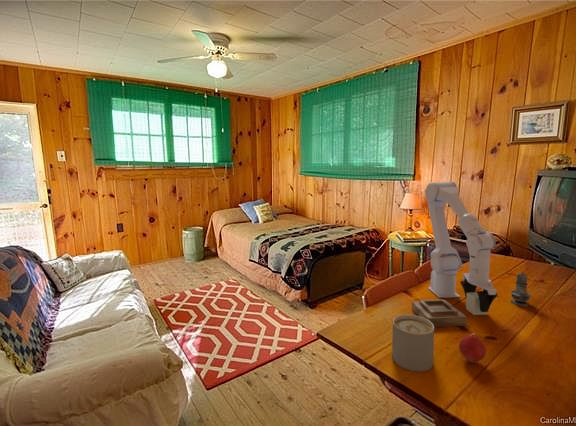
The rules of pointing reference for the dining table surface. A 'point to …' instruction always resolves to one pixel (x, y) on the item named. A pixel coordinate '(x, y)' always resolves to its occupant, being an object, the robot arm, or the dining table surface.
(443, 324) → the taupe stepped square slab
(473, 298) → the block
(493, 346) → the dining table surface
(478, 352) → the onion
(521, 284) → the salt shaker
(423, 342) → the grey can
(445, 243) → the robot arm
